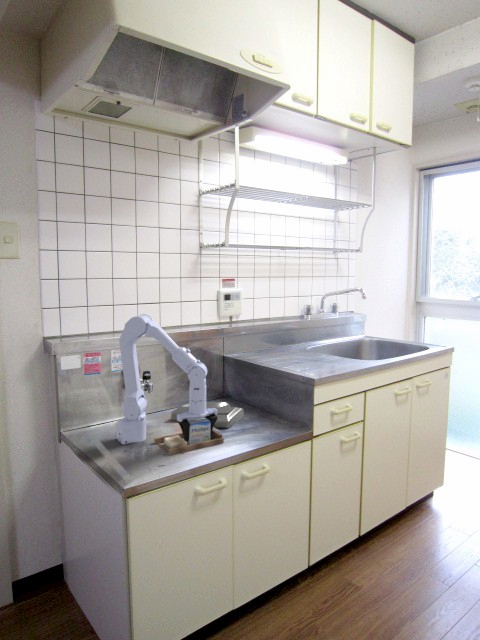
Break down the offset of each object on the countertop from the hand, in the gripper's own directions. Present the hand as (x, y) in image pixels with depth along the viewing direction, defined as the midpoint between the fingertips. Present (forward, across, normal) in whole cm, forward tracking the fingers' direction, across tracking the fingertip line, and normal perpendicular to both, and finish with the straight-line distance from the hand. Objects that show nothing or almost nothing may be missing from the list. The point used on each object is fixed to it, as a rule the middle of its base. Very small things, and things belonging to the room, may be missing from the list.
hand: (197, 438), depth 148 cm
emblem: (+3, +17, +22) cm, 28 cm away
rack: (+2, -3, 0) cm, 4 cm away
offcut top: (+1, -8, 0) cm, 8 cm away
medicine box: (+3, 0, 0) cm, 3 cm away
